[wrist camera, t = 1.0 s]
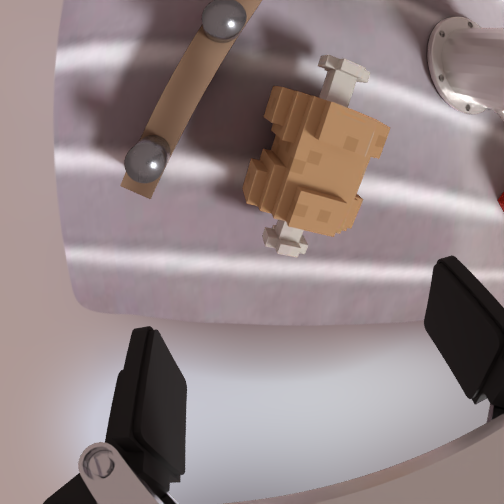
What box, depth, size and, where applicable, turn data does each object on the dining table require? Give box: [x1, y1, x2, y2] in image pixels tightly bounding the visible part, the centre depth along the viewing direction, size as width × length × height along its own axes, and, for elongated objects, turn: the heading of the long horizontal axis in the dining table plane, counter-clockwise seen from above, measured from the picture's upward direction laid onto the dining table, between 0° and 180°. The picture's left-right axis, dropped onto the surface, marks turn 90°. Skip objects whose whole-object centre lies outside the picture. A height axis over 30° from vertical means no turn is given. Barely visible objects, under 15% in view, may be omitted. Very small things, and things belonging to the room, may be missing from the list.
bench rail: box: [120, 0, 262, 199], centre depth 24 cm, size 3×20×9 cm, turn 150°
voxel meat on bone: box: [242, 55, 390, 258], centre depth 28 cm, size 10×18×10 cm, turn 164°
